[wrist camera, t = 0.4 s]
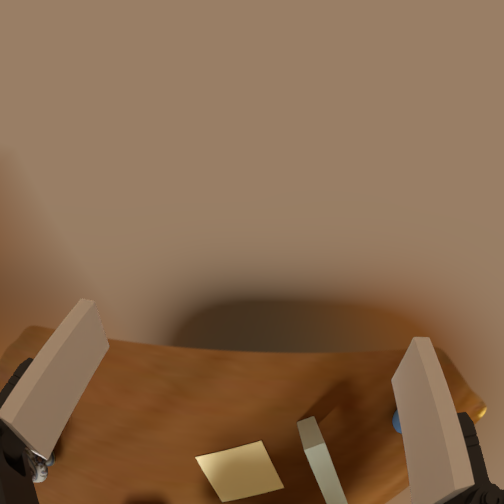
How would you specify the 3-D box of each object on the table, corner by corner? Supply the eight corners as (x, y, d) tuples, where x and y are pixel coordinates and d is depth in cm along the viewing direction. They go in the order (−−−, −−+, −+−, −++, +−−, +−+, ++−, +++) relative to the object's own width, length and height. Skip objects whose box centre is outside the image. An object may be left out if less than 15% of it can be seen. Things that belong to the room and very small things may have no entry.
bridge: (313, 415, 45) (324, 442, 36) (335, 474, 44) (347, 503, 35) (296, 422, 45) (303, 450, 36) (320, 480, 44) (329, 510, 35)
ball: (416, 417, 44) (430, 429, 39) (390, 431, 44) (402, 444, 39) (412, 393, 45) (426, 404, 39) (384, 408, 45) (397, 420, 39)
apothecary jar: (11, 423, 45) (-38, 450, 27) (43, 423, 45) (-9, 457, 27) (34, 468, 44) (-8, 501, 26) (68, 471, 44) (25, 512, 26)
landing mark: (284, 487, 44) (284, 487, 44) (222, 501, 44) (222, 502, 43) (261, 440, 45) (261, 440, 44) (195, 456, 44) (195, 457, 44)
